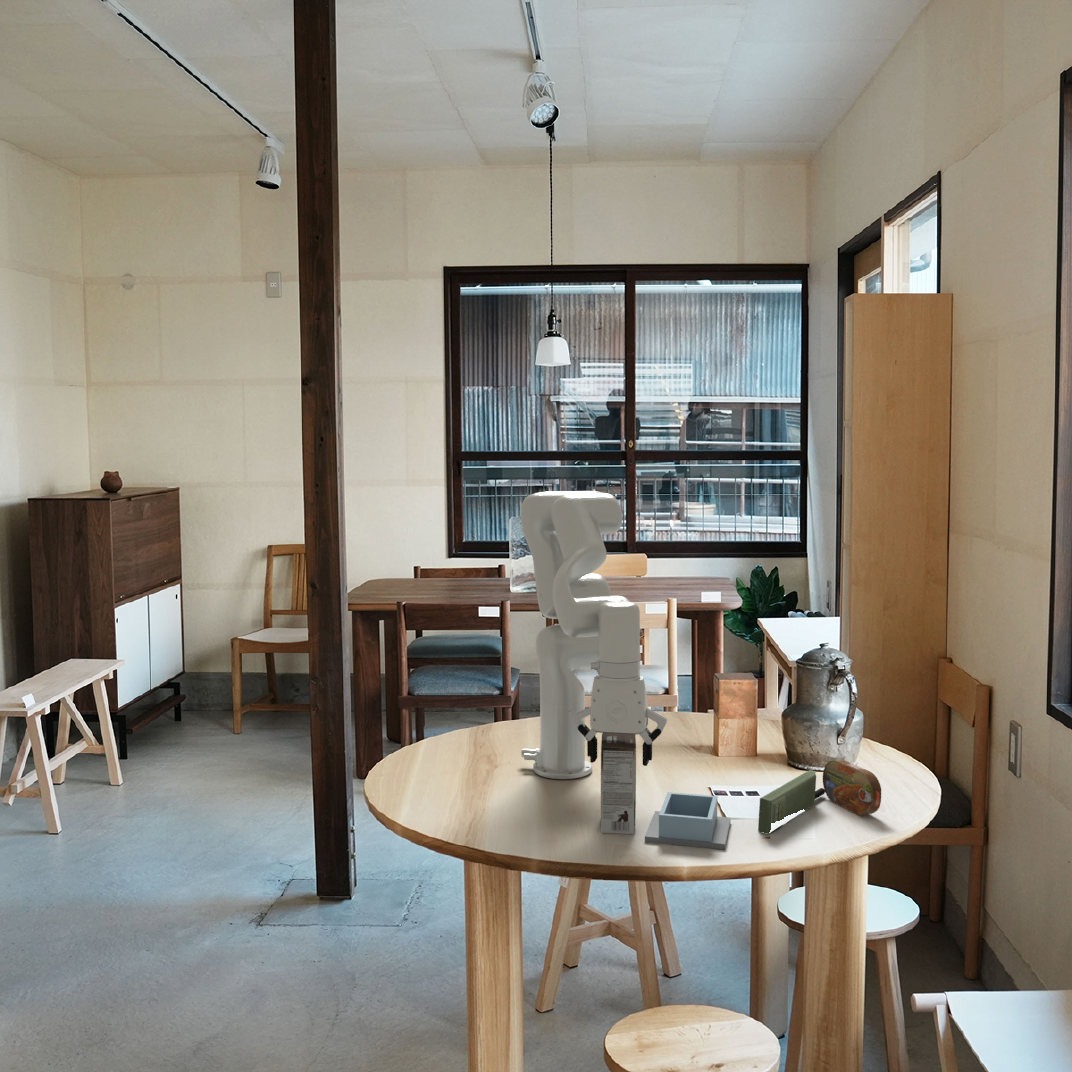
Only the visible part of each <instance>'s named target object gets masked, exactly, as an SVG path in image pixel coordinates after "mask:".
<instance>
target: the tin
mask: <svg viewBox="0 0 1072 1072" xmlns="http://www.w3.org/2000/svg"><path fill="white" fill-rule="evenodd" d="M822 785H823V789H824V790H825V794H826V796H827V798H828V799H829V801H831V802H832V803H834V804H836V805H837V804H838V806H839V805H840V806H839V807H841V806H842V808H843V809H845V810H847V811H849V812H852V813H853V814H855V815H857V816H865V815H873V814H875V813H876V812H877V811H879V809H880V806H881V802H882V786H881V783H880V781H879V779H878V777H877V776H876V775H875V774H874V773H873V772H872V771H870V770H868V769H865V768H864V767H860V766H858V765H856V764H854V763H852V762H849V761H847V760H842V759H841V760H837V759H834V760H830V761H828V762H827V763H826V764H825V766H824V768H823V772H822Z"/></svg>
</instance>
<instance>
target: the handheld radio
mask: <svg viewBox="0 0 1072 1072" xmlns="http://www.w3.org/2000/svg"><path fill="white" fill-rule="evenodd" d="M816 773H817V771H815V770H811V769H810V770H807V771H805V772H804V773H802V774H800V775H798V776H797V777H795V778H793V779H792V780H790V781H788V782H786V783H784V784H783V785H781V786H779V787H777V788H776V789H773V790H772V791H771V792H768V793H767V794H765V795H764V796H761V797H760V798H759V810H758V811H759V812H758V827H757V828H758V829H757V832H758V833H761V832H764V833H763V834H765V833H769V832H770V830H771V823H775V822H776V821H780V820H782V819H784V817H786V816H788V815H791V814H793V813H797V812H798V811H800V810H803V809H804V810H805V812H807V811H809V810H810V809H811V808H813V807H814V806H815V803H816V802H815V801H816V799H818V798H820V797H821V796H823V795H825V794H826V793H825V790H824V787H819V788H818V789H817V790H816V788H817V787H816V785H817V784H816V783H817V775H816Z"/></svg>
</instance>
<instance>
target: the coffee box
mask: <svg viewBox="0 0 1072 1072" xmlns="http://www.w3.org/2000/svg"><path fill="white" fill-rule="evenodd" d="M636 737H637V736H636V735H630V734H611V733H601V743H600V744H601V746H600V833H601V834H622V835H635V833H636V812H637V811H636V807H637V806H636V804H637V800H636V799H637V797H636V796H637V744H636V743H637V741H636Z"/></svg>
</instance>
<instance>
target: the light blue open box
mask: <svg viewBox="0 0 1072 1072" xmlns="http://www.w3.org/2000/svg"><path fill="white" fill-rule="evenodd" d="M718 799H719V798H718V795H710V794H709V795H707V794H705V795H704V794H693V793H684V792H683V793H682V792H669V791H668V792H667V793H666V795H665V797H664V801H663V803H662V805H661V809H660V810H659V811H658V810H655V811H654V813H653V815H652V818H651V821H650V823H649V825H648V828H647V829H646V832H645V835H644V843H652V844H662V845H672V846H673V845H674V846H684V847H692V848H693V847H695V848H703V849H704V848H705V849H706V848H707V849H713V850H714V849H718V850H724V851H725V850H726V847H727V841H728V836H729V833H730V827H731V817H728V816H727V817H726V816H718Z"/></svg>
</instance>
